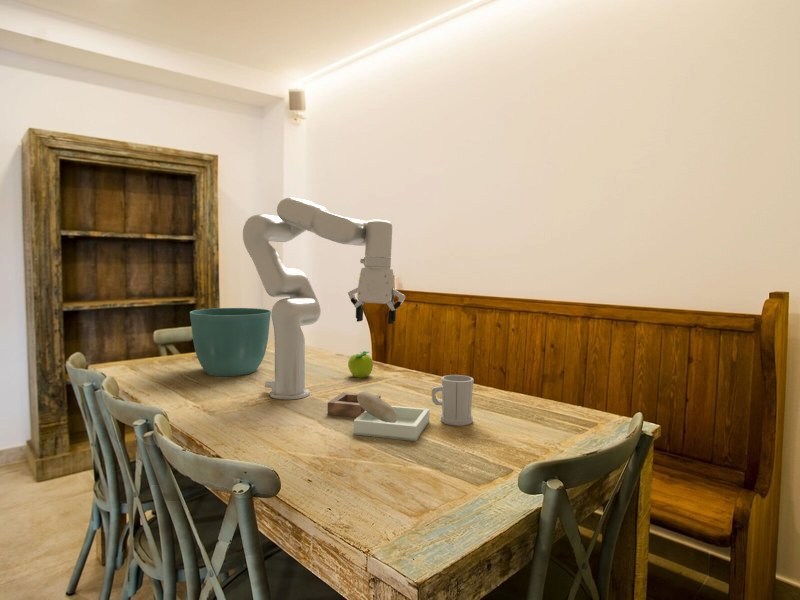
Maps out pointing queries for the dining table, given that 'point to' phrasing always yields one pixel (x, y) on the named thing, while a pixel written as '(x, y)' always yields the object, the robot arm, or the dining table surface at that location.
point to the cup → (455, 399)
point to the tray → (394, 424)
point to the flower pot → (230, 339)
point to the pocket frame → (346, 405)
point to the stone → (377, 407)
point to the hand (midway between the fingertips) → (375, 322)
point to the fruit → (360, 365)
